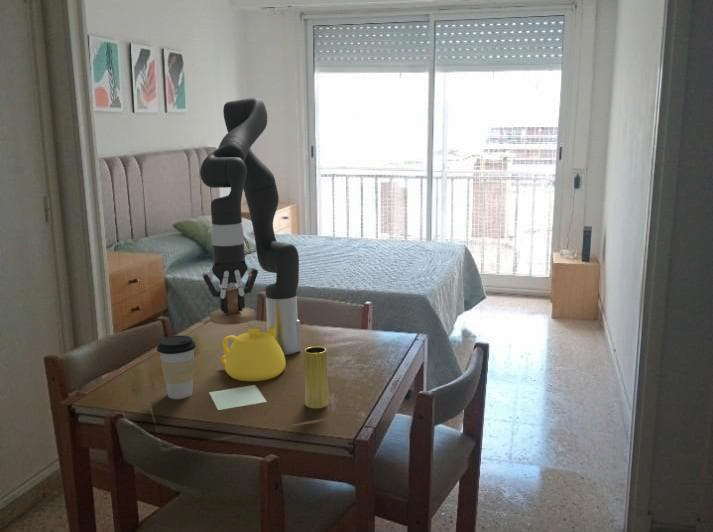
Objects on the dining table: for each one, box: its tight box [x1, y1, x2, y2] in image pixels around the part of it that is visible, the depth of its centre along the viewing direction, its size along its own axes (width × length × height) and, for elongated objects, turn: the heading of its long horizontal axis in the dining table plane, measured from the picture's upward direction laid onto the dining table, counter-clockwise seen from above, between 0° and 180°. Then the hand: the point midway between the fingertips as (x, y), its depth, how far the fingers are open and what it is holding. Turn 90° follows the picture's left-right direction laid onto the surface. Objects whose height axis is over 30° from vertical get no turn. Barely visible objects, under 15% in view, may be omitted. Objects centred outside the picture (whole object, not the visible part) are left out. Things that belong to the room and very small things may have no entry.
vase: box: [303, 345, 330, 409], centre depth 165 cm, size 6×6×14 cm
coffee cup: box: [156, 335, 197, 400], centre depth 173 cm, size 9×9×15 cm
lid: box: [209, 288, 256, 326], centre depth 166 cm, size 11×11×7 cm
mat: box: [208, 384, 268, 411], centre depth 172 cm, size 12×12×1 cm
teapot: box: [220, 327, 286, 382], centre depth 190 cm, size 20×19×13 cm
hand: (232, 310), depth 167 cm, fingers closed on lid, 3 cm apart
